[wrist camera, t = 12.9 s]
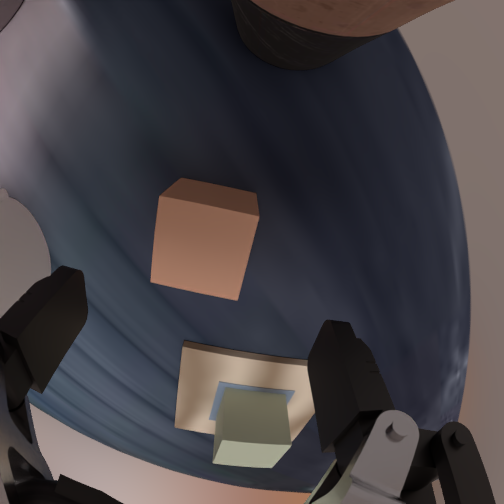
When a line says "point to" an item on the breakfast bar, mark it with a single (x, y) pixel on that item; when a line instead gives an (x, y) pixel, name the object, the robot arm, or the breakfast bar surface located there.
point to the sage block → (251, 428)
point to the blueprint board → (237, 384)
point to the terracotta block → (204, 237)
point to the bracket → (19, 251)
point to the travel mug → (319, 27)
